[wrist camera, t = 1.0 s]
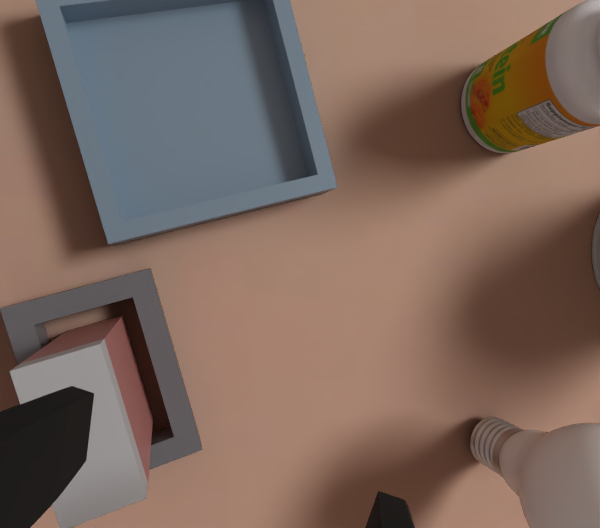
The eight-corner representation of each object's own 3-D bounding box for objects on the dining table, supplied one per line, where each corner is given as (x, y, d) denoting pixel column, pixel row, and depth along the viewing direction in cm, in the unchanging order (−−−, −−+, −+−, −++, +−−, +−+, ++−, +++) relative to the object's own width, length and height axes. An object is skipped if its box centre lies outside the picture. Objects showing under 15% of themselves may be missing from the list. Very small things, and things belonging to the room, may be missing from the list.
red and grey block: (98, 435, 22) (61, 531, 14) (66, 331, 21) (9, 371, 14) (153, 416, 22) (147, 497, 15) (123, 314, 22) (100, 343, 14)
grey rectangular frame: (68, 486, 21) (61, 502, 20) (11, 305, 21) (-1, 308, 19) (199, 437, 23) (202, 449, 21) (150, 268, 22) (149, 268, 21)
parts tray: (113, 245, 22) (107, 243, 20) (44, 13, 21) (32, -12, 19) (324, 193, 24) (337, 187, 23) (270, -14, 24) (280, -38, 22)
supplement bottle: (479, 43, 27) (645, -72, 18) (549, 92, 28) (737, 10, 19) (443, 125, 26) (595, 51, 17) (516, 171, 28) (694, 126, 18)
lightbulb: (426, 489, 26) (602, 644, 16) (443, 375, 26) (628, 452, 16) (520, 493, 28) (736, 634, 17) (535, 386, 28) (757, 461, 18)
